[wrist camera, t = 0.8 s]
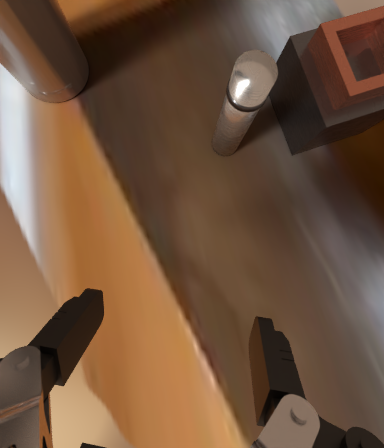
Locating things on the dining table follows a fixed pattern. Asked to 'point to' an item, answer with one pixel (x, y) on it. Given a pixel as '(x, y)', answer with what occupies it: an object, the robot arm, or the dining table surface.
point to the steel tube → (243, 99)
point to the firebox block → (331, 81)
